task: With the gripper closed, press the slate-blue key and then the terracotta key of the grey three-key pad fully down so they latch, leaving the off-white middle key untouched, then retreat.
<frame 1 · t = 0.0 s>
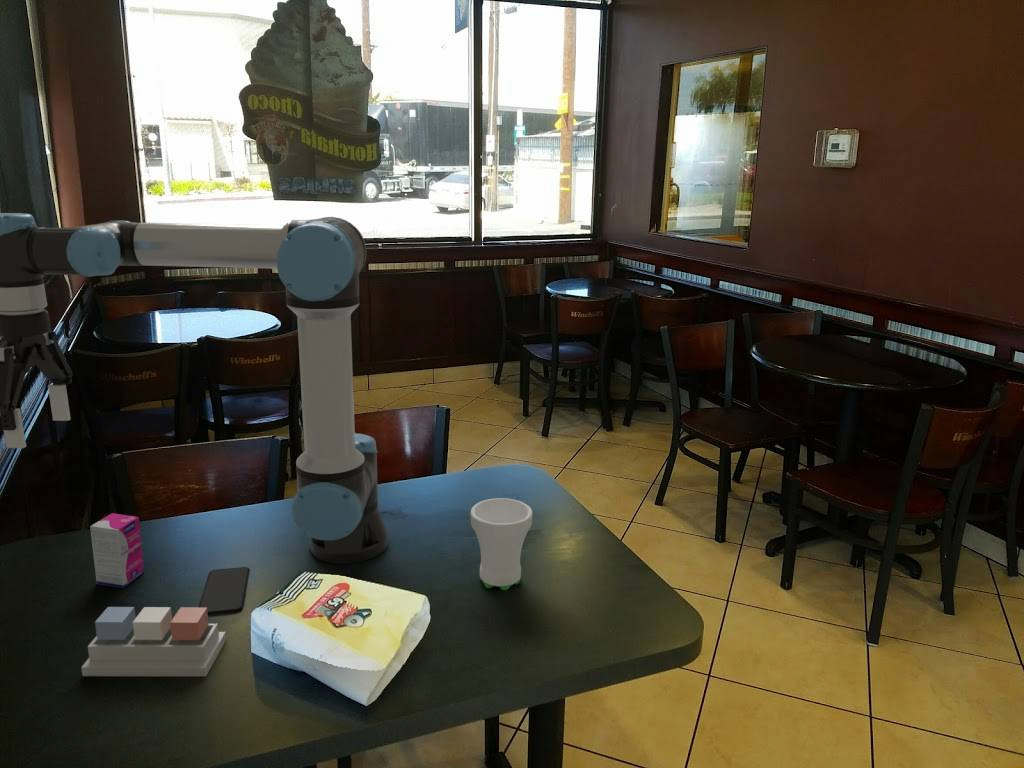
hand: (40, 433, 130), 28 cm above the table, fingers open, 13 cm apart
blue key: (116, 623, 115), point 6 cm above the table, slide at 0.0 cm
white key: (153, 623, 115), point 6 cm above the table, slide at 0.0 cm
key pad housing: (157, 657, 117), on the table
smartphone: (225, 593, 135), on the table
supplement box: (121, 579, 138), on the table
red key: (189, 623, 115), point 6 cm above the table, slide at 0.0 cm
cup: (500, 581, 141), on the table
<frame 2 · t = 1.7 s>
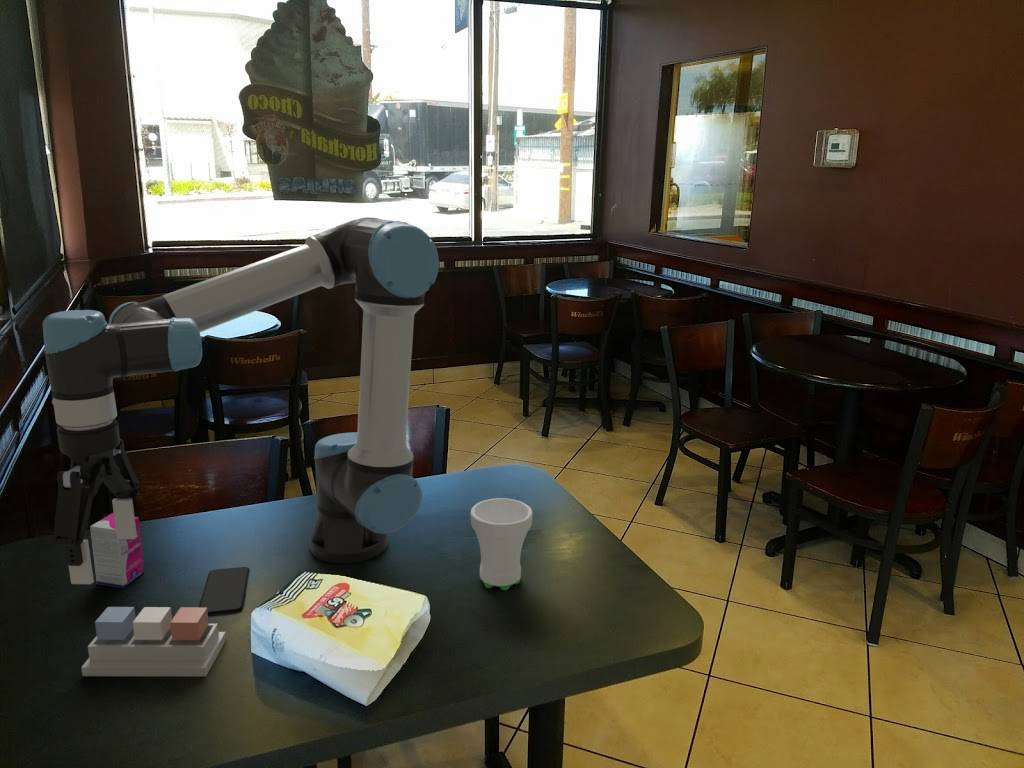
hand: (106, 559, 112), 17 cm above the table, fingers open, 12 cm apart
nothing on the table moved.
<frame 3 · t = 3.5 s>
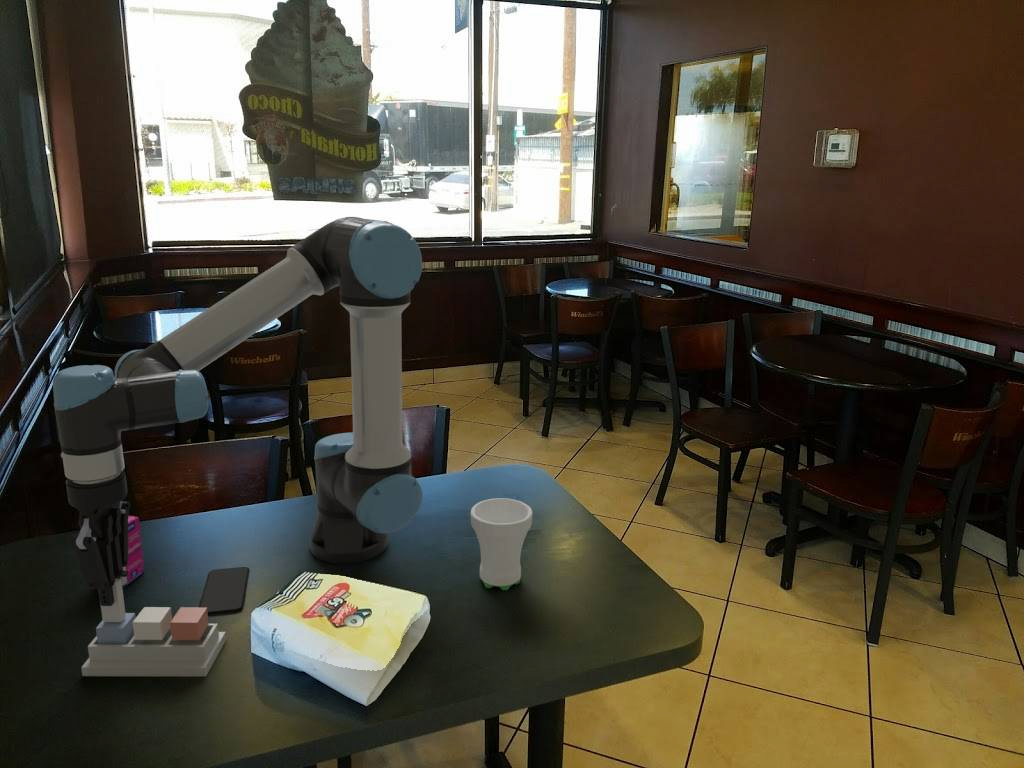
hand: (114, 619, 115), 7 cm above the table, fingers closed
blue key: (117, 629, 115), point 5 cm above the table, slide at 1.1 cm, touching gripper
everything else where it was.
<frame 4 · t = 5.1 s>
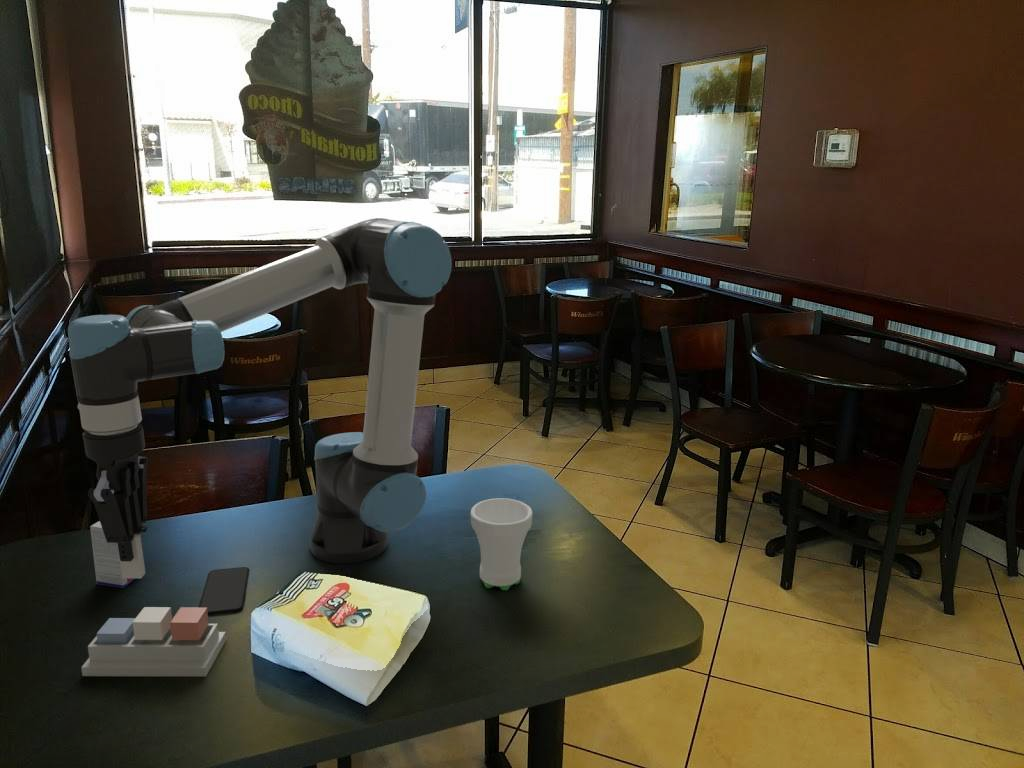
hand: (134, 575, 113), 14 cm above the table, fingers closed
blue key: (117, 634, 115), point 4 cm above the table, slide at 2.0 cm
everything else where it was.
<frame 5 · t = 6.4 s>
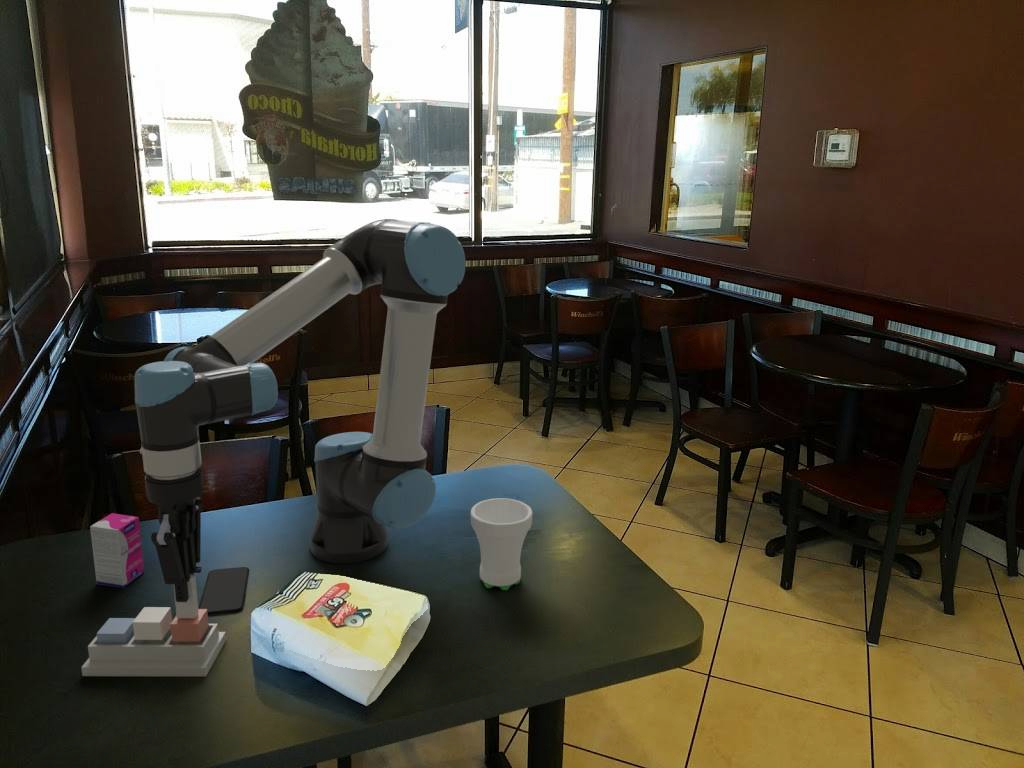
hand: (187, 615, 115), 7 cm above the table, fingers closed
red key: (190, 625, 115), point 6 cm above the table, slide at 0.3 cm, touching gripper
everything else where it was.
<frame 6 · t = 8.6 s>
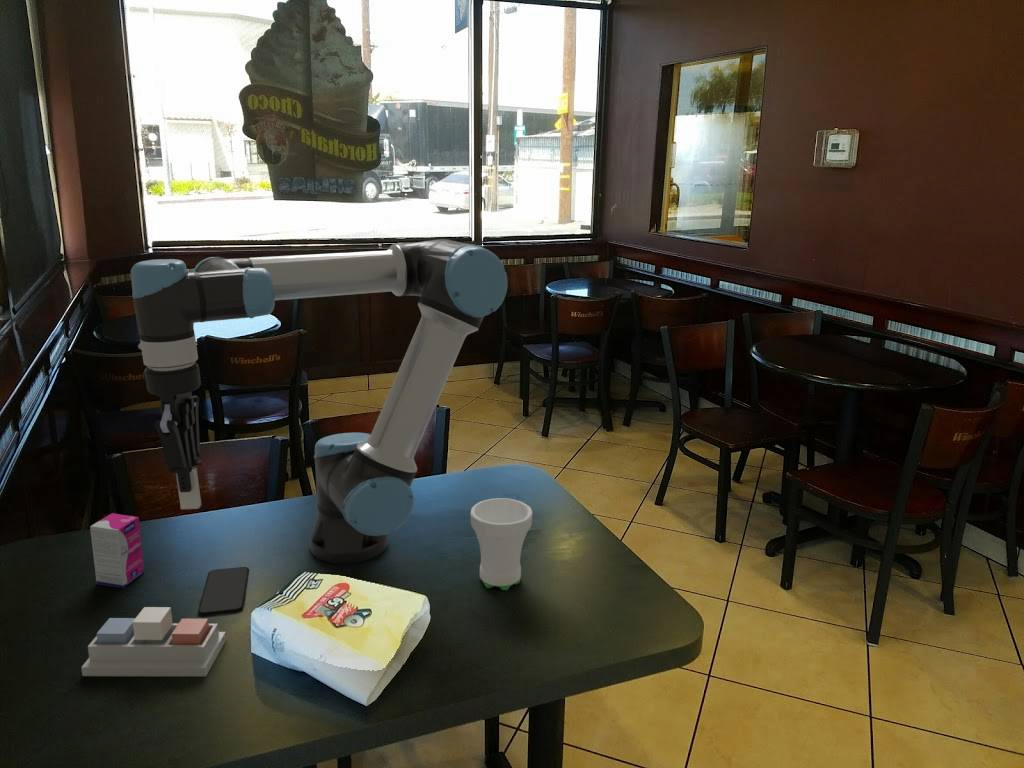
hand: (191, 506, 121), 20 cm above the table, fingers closed
red key: (191, 634, 116), point 4 cm above the table, slide at 2.0 cm
everything else where it was.
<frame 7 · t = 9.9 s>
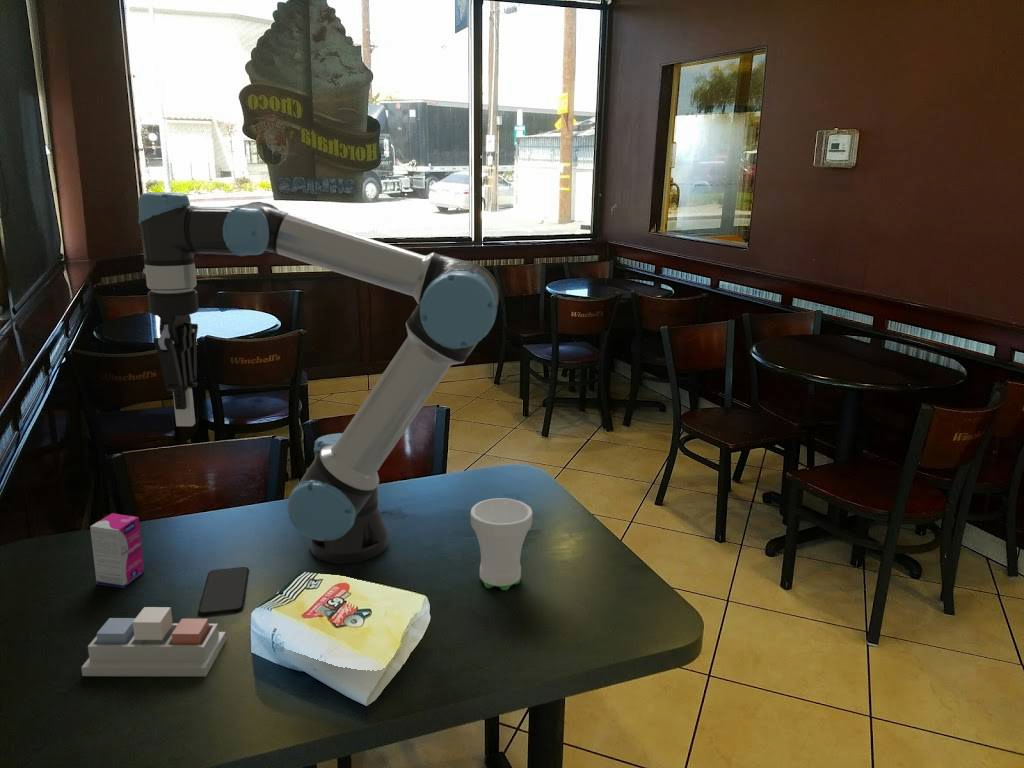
hand: (185, 424, 131), 29 cm above the table, fingers closed
nothing on the table moved.
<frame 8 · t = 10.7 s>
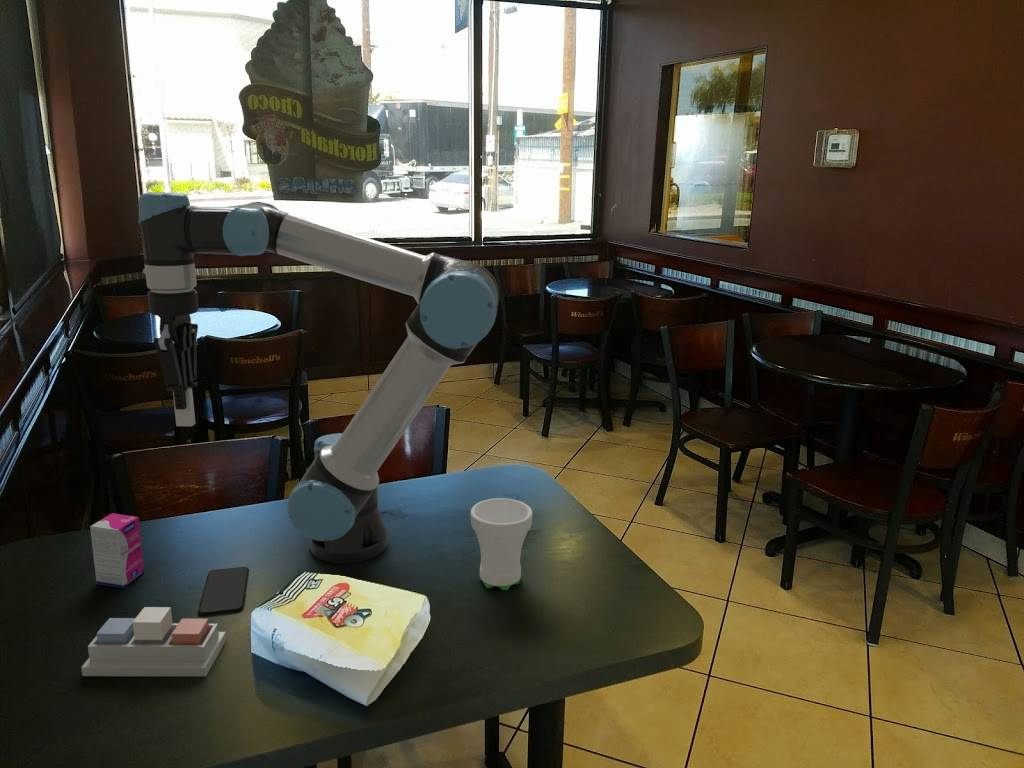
hand: (185, 424, 131), 29 cm above the table, fingers closed
nothing on the table moved.
at the end: blue key slide at 2.0 cm; red key slide at 2.0 cm; white key slide at 0.0 cm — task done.
